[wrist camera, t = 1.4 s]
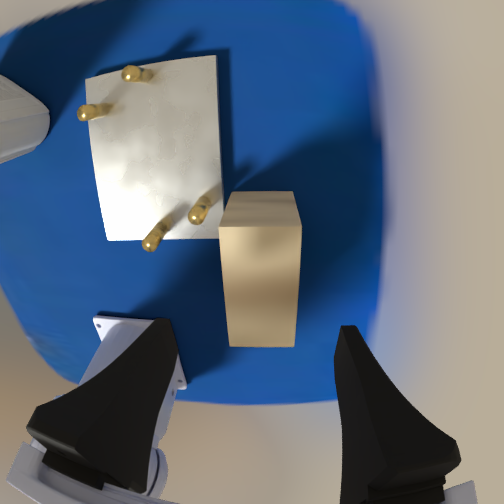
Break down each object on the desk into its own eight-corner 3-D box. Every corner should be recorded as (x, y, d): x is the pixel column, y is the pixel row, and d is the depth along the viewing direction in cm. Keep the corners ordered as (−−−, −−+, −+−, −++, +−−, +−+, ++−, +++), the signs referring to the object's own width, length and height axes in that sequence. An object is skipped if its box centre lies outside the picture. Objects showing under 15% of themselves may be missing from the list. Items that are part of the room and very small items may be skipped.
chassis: (226, 233, 21) (220, 255, 18) (112, 235, 22) (93, 255, 19) (217, 56, 16) (208, 48, 13) (91, 79, 16) (65, 79, 13)
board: (289, 291, 23) (294, 346, 18) (237, 291, 24) (229, 346, 18) (292, 190, 20) (301, 226, 14) (231, 191, 20) (218, 226, 15)
